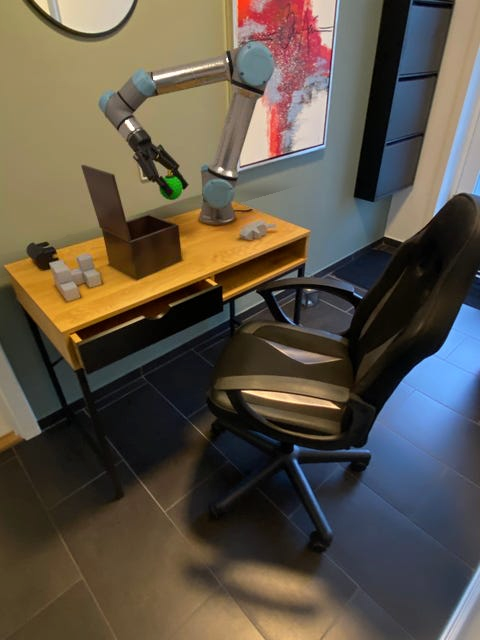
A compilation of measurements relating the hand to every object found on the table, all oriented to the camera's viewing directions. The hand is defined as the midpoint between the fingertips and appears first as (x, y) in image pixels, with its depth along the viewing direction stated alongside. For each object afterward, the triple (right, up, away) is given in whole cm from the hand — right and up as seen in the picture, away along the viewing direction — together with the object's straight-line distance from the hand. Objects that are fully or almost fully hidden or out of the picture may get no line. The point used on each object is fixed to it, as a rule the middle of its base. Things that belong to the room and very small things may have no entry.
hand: (178, 190), depth 137 cm
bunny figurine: (+28, -12, +19) cm, 36 cm away
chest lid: (-18, -10, -19) cm, 28 cm away
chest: (-11, -25, 0) cm, 27 cm away
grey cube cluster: (-28, -35, -14) cm, 47 cm away
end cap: (-46, -26, 0) cm, 53 cm away
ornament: (-3, -2, +3) cm, 5 cm away
